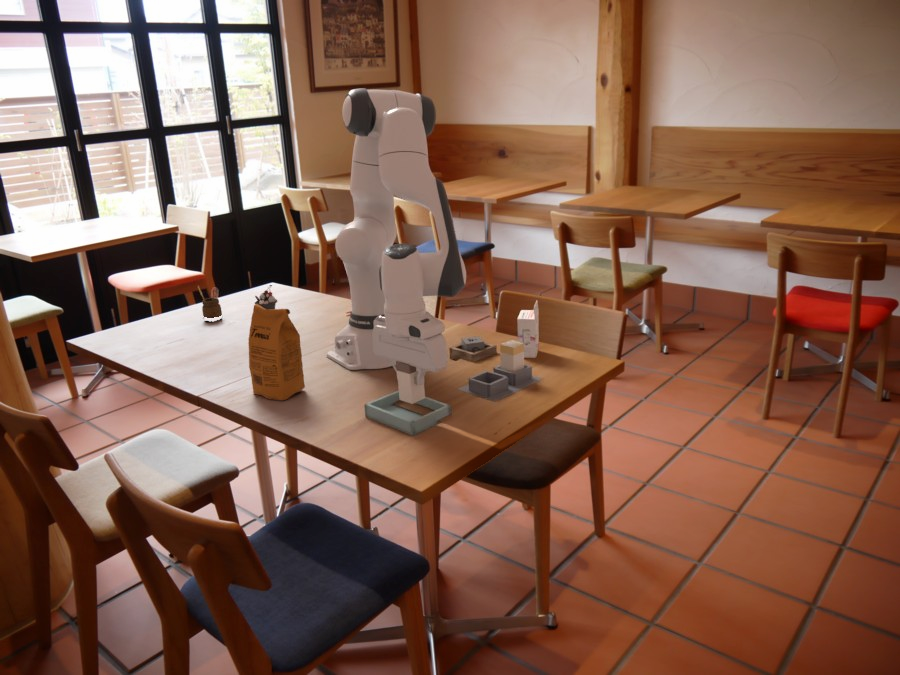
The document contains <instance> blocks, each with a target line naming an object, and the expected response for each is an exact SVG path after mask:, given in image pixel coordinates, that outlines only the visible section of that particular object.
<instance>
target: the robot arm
mask: <svg viewBox="0 0 900 675" xmlns="http://www.w3.org/2000/svg"><path fill="white" fill-rule="evenodd" d="M436 110H437V109H436V106H435V103H434V101H433V100H432V99H431V97H428V96H427V95H424V94H421V93H412V92H408V91H403V90H397V89H390V90H389V89H377V88H376V89H371V88H370V89H367V88H366V87H364V88H363V87H362V88H354V89H351V90H350V91H349V92H348V93H347V94H346V95H345V98H344V101H343V105H342V110H341V111H342V112H341V113H342V114H341V116H342V120H343V125H344V127H345V129H346V130H347V131H348V132H349V133H351V134H353V135H355V138H354V144H353V150H352V160H351V169H350V170H351V172H350V183H349V184H350V185H349V193H350V195H351V197H352V201H353V202H352V203H353V210H354V217H353V221H351V222H348V223H347V224H345V225H344V226H343V227H342V228H341V230H340V231H339V232H338V235H337V236H336V239H335V246H334V248H335V251H336V254H337V256H338V257H339V258H340V260H342V263H343V265H344V269H345V271H346V275H347V276H346V277H347V279H348V284H349V289H350V291H349V292H350V301H351V302H350V303H351V311H347V312H346V314H347V315H346V317H349V319H348V323H347V325H346V326H344V327H343V328H342V329H341V330H340V331H338V333H337V334H336V335H335V338H334V348H332V349H330V350H329V351H327V353H326V357H327V358H328V359H330V360H332V361H333V362H335V363H337V364H339V365H340V366H342V367H343V368H345V369H348V370H350V371H359V370H377V369H378V370H379V369H385V368H390V367H392V368H393V369H394V371H395V373H396V374H397V369H396V361H398V362H401V363H405V364H409V365H411V366H414V367H416V371H418V374H417V376H416V377H414V384H416V385H419V386H421V385H423V384H424V385H425V376H426V374H427V372H428V371H429V372H433V373H438V372H440V371H442V370H445V369H446V367H447V366H448V363H449V362H448V361H449V360H448V358H449V356H448V346H447V341H446V337H445V336H444V334H442V333H444V332H445V329H446V328H445V323H444V322H443V321H442V320H440V319H438V318H437V317H435V316H434V315H433V314H432V313H430V312H429V311H427V310H426V309H427V308H426V303H425V300H424V297H436V296H437V297H442V298H443V297H444V298H445V297H446V298H454V297H455V296H456V295H458V294H459V293H460V292H461V291H462V290H463V289H464V288H465V286H466V282H467V270H466V266H465V263H464V259H463V258H462V254H461V252H460V249H459V245H458V238H457V234H456V230H455V225H454V221H453V220H454V219H453V216H452V211H451V206H450V203H449V198H448V195H447V190H446V188H445V186H444V183H443V181H442V180H441V179H439V178H436V177H435V175H434V174H433V172H432V170H431V167H430V164H429V153H428V152H429V151H428V141H427V138H428V137H429V136H430V135H431V134H432V132H433V131H434V129H435V124H436V119H437V111H436ZM394 197H396V198H399V199H401V200H403V201H406V202H409V203H411V204H412V203H413V204H414V205H418V206H421V207H423V208H425V209H427V210H428V211H430V213H431V214H432V216H433V219H434V223H435V229H436V232H437V237H438V242H439V248H440V249H439V250H437V251H434V252H433V251H432V252H419V249H418V247H417V246H416V245H413V244H410V243H396V244H394V243H395V241H396V239H397V238H396V237H397V236H398V235H397V234H398V230H397V229H398V227H397V225H396V216H395V198H394ZM396 380H398V377H397V376H396Z"/></svg>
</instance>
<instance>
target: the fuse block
mask: <svg viewBox="0 0 900 675" xmlns="http://www.w3.org/2000/svg"><path fill="white" fill-rule="evenodd" d="M467 379H468V384H466V385H464V386H461V387H459V388H457V390H458V391H461V392H464V393H467V394H470V395H474V396H476V397H479V398H482V399H486V400H489V401H492V402H494V403H495V402H499V401H500V400H502V399H505V398H506V397H508V396H509V397H510V396H511V395H512V394H514V393H517V392H519V391H522V390H523V389H525V388H528V387H530V386H531V385H534V384H535V383H538V382H540V381H542V380H544V378H542V377H538V376H536V375H533V366H532V365H531V364H527V363H524V368H523V369H521V370H519V371H517V372H510V371H507V370H503V369H501V363H500V364H498V365H496V366H494V367H493V371H490V370H489V371H488V370H484V371H482V372H480V373H477V374H475V375H472V376H470V377H468V378H467Z"/></svg>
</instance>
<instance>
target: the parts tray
mask: <svg viewBox="0 0 900 675" xmlns="http://www.w3.org/2000/svg"><path fill="white" fill-rule="evenodd" d="M398 401H401V400H400V399H399V389H398V390H396V391H393V392H392V393H389V394H386V395H384V396H381V397H379V398H377V399H373V400H372V401H369V402H366V403H365V404H364V413H365V414H364V416H365V417H366V418H367V419H371V420H374V421H376V422H378V423H380V424H383V425H385V426H387V427H391V428H392V429H395V430H398V431H400V432H402V433H405V434H408V435H410V436H412V437H413V436H416V435H419V434H420V433H422V432H425V431H426V430H428V429H430V428H431V429H432V428H433V427H435V426H437V425H439V424H441V423H443V422H442V421H440V420H441V419H443V418H445V417H448V416H450V415H452V406H451V404H448V403H445V402H441V401H439V400H436V399H434V398H430V397H428V396H425V398H424V399H422V400H420V401H418V402H416V403H415V404H416V405H419V406H423V407H424V408H427V409H431V410H434V411H431V412H429V413H426V414H421V413H419V412H416V411H413V410H411V409H408V408H405V407H402V406H401V405H400V406H399V405H398V404H395V403H396V402H398Z"/></svg>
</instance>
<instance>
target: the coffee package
mask: <svg viewBox="0 0 900 675" xmlns="http://www.w3.org/2000/svg"><path fill="white" fill-rule="evenodd" d="M290 314H291V311H290V309H289V308H275V309H269V310H266V309H265V308H263V307H261V306H260V305H258V304H255V303H254V305H253V311H252V313H251V320H250V321H251V322H250V326H249V327H250V328H249V334H248V368H249V372H250V376H251V385H252V391H253V392H252V394H253V393H254V394H253V395H255V394H257V396H263V397H264V398H265V399H267V398H268V399H267V400H271V399H275V401H285V400H288V399H289V398H290V397H292V396H294V394H296V393H299V392H301V391H302V390H304V389H305V388H306V386H305V379H304V378H305V377H304V369H303V366H304V364H303V358H302V355H303V354H302V347H301V336H300V333H299V332H298V330H297V328H296V327H295V325H294V323H293V321H292V320H291V318H290V316H289V315H290Z"/></svg>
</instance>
